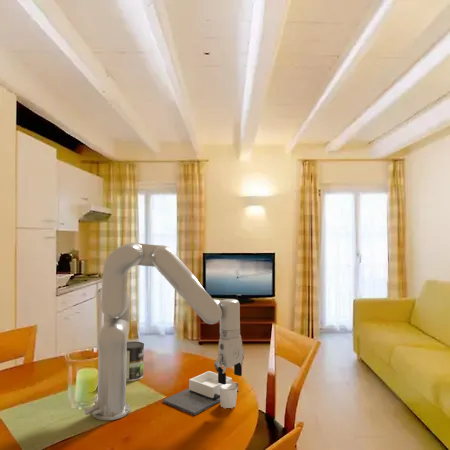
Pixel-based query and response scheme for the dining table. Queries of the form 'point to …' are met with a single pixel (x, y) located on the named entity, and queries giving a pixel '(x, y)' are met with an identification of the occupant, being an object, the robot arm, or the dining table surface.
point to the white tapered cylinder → (228, 395)
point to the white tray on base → (207, 384)
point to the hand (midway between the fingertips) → (230, 379)
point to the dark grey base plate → (192, 401)
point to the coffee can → (134, 361)
